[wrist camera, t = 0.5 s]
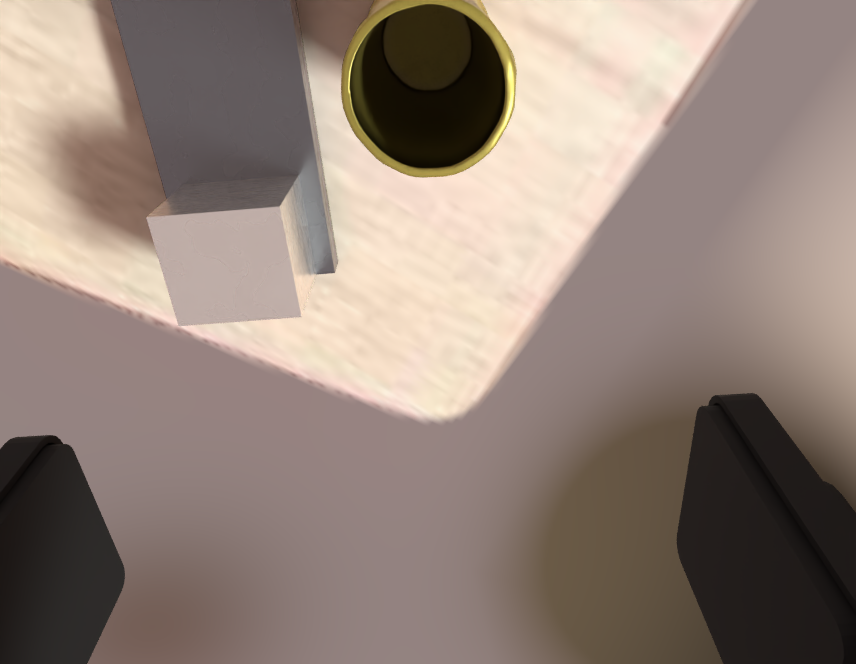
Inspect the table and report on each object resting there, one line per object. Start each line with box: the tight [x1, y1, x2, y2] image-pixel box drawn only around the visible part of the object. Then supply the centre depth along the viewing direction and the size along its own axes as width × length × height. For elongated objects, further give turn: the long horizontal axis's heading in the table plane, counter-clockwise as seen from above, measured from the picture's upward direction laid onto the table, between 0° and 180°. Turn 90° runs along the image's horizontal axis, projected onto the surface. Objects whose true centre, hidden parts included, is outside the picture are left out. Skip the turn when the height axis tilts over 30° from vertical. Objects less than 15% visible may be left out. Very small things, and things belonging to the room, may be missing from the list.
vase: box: [341, 0, 517, 177], centre depth 26 cm, size 6×6×14 cm
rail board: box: [111, 0, 338, 326], centre depth 30 cm, size 20×8×6 cm, turn 5°
